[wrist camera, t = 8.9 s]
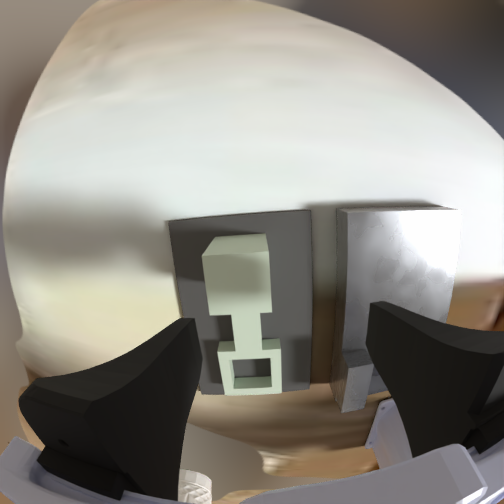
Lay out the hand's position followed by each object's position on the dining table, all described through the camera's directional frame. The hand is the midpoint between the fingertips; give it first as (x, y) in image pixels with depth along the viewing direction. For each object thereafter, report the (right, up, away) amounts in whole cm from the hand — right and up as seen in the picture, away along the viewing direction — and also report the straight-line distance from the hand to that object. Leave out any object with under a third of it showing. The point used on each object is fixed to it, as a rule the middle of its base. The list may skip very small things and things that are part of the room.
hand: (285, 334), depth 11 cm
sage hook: (-2, -2, +10) cm, 11 cm away
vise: (+10, -1, +10) cm, 15 cm away
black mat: (-2, -2, +11) cm, 11 cm away
